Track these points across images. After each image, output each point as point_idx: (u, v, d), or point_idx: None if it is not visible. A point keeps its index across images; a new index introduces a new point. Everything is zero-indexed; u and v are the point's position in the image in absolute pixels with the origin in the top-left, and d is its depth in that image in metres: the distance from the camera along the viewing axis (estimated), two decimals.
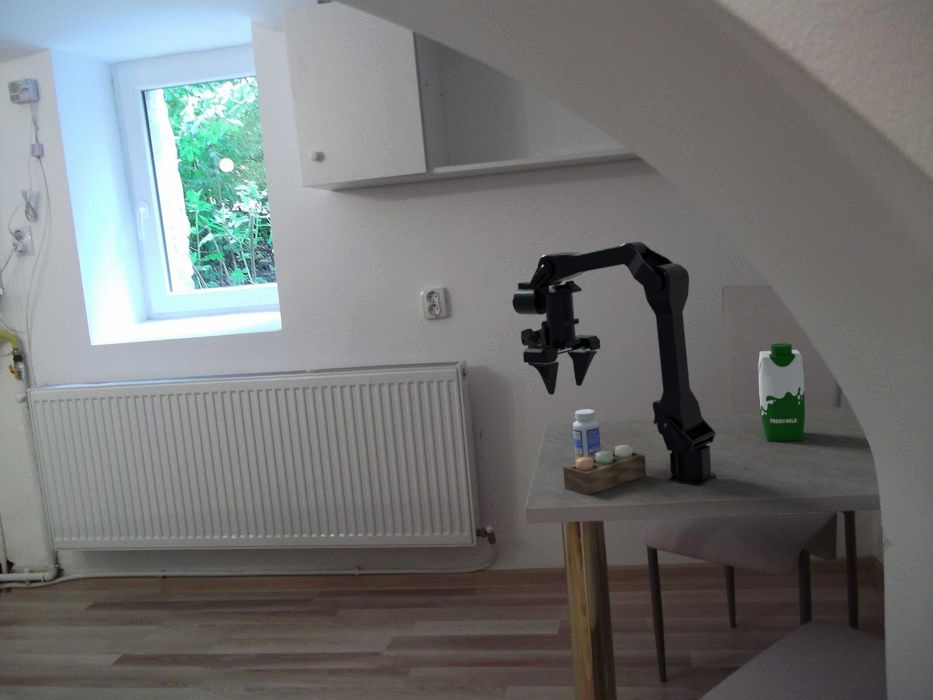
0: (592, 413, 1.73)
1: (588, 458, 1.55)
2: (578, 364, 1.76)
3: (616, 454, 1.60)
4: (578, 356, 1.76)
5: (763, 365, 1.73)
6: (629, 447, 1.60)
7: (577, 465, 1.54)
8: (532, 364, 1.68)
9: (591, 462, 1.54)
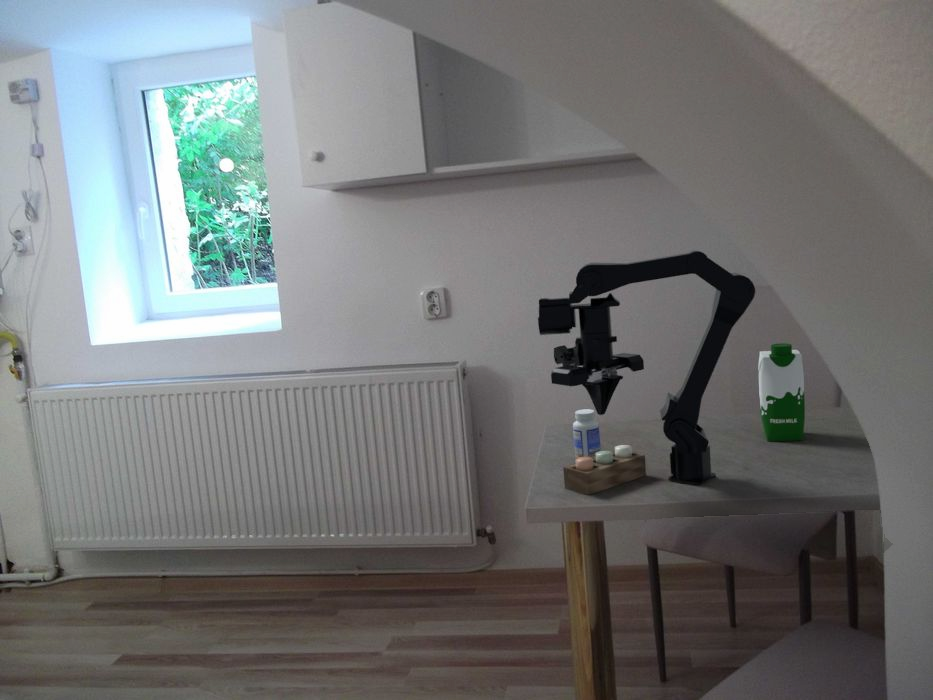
0: (592, 413, 1.73)
1: (588, 458, 1.55)
2: None
3: (616, 454, 1.60)
4: None
5: (763, 365, 1.73)
6: (629, 447, 1.60)
7: (577, 465, 1.54)
8: None
9: (591, 462, 1.54)
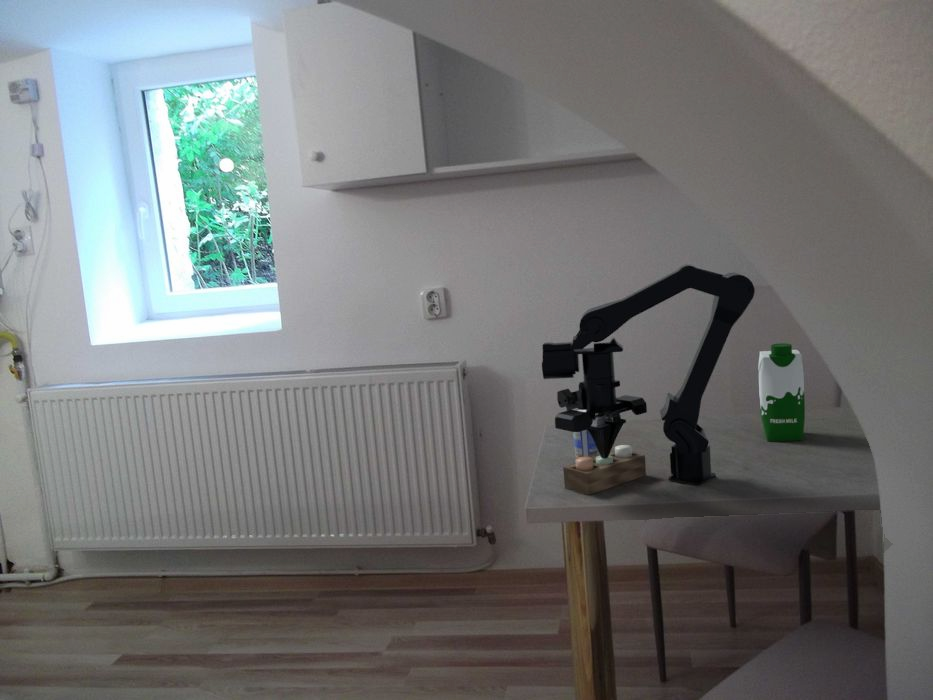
0: None
1: (588, 458, 1.55)
2: None
3: (616, 454, 1.60)
4: None
5: (763, 365, 1.73)
6: (629, 447, 1.60)
7: (577, 465, 1.54)
8: None
9: (591, 462, 1.54)
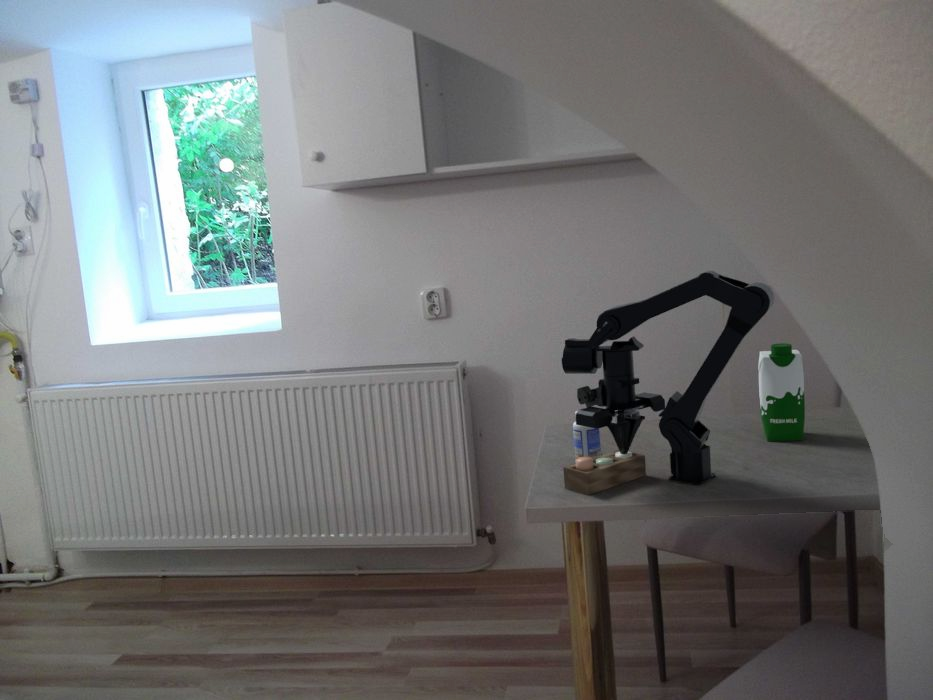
0: None
1: (588, 458, 1.55)
2: None
3: None
4: None
5: (763, 365, 1.73)
6: (629, 453, 1.60)
7: (577, 465, 1.54)
8: None
9: (591, 462, 1.54)
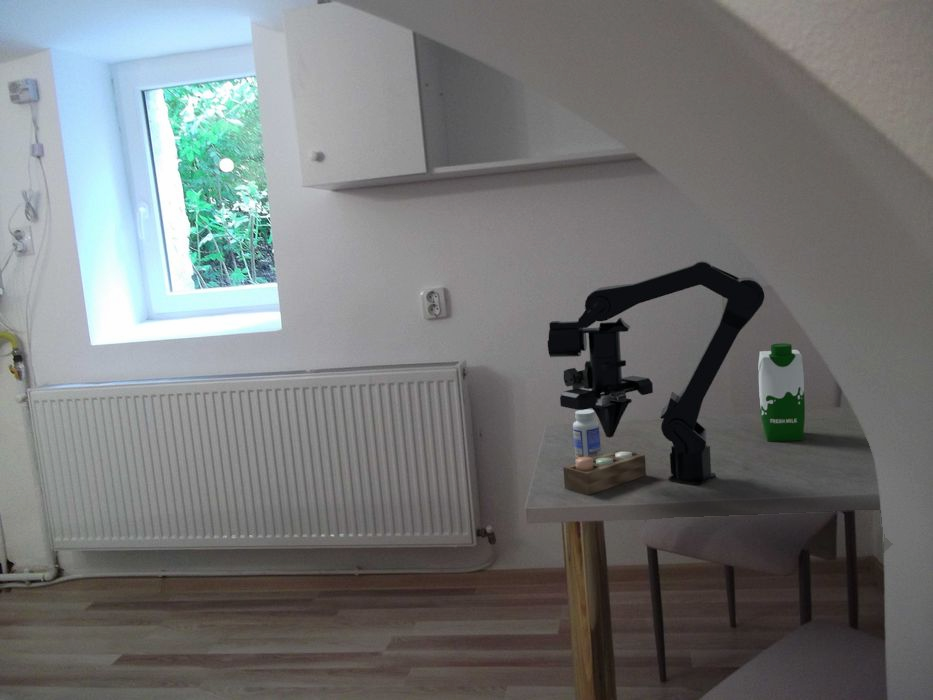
0: (592, 413, 1.73)
1: (588, 458, 1.55)
2: None
3: None
4: None
5: (763, 365, 1.73)
6: (629, 454, 1.60)
7: (577, 465, 1.54)
8: None
9: (591, 462, 1.54)
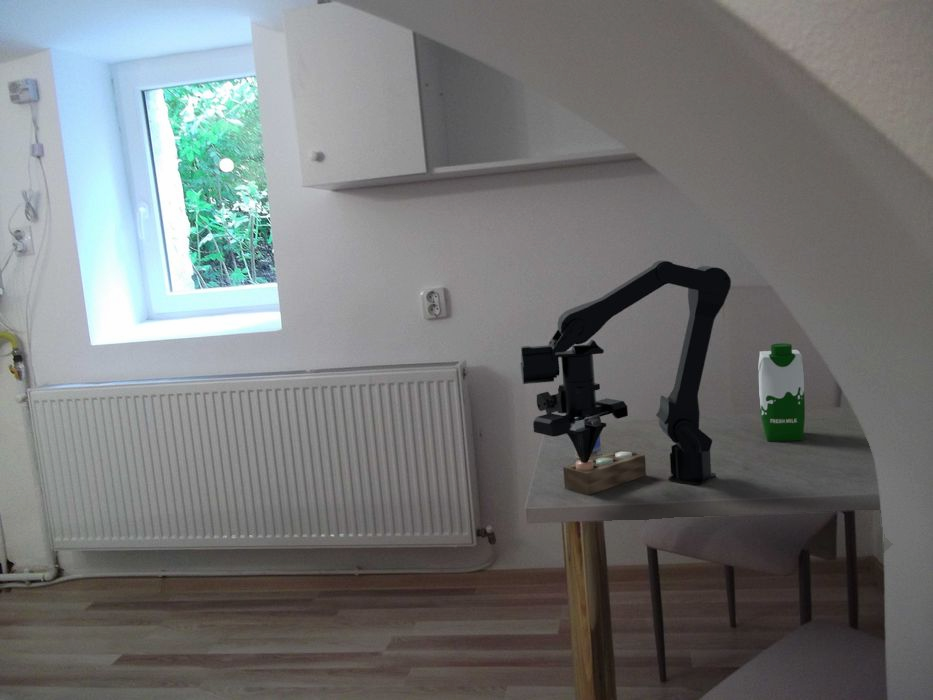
0: None
1: None
2: None
3: None
4: None
5: (763, 365, 1.73)
6: (629, 454, 1.60)
7: (577, 468, 1.54)
8: None
9: (591, 465, 1.54)
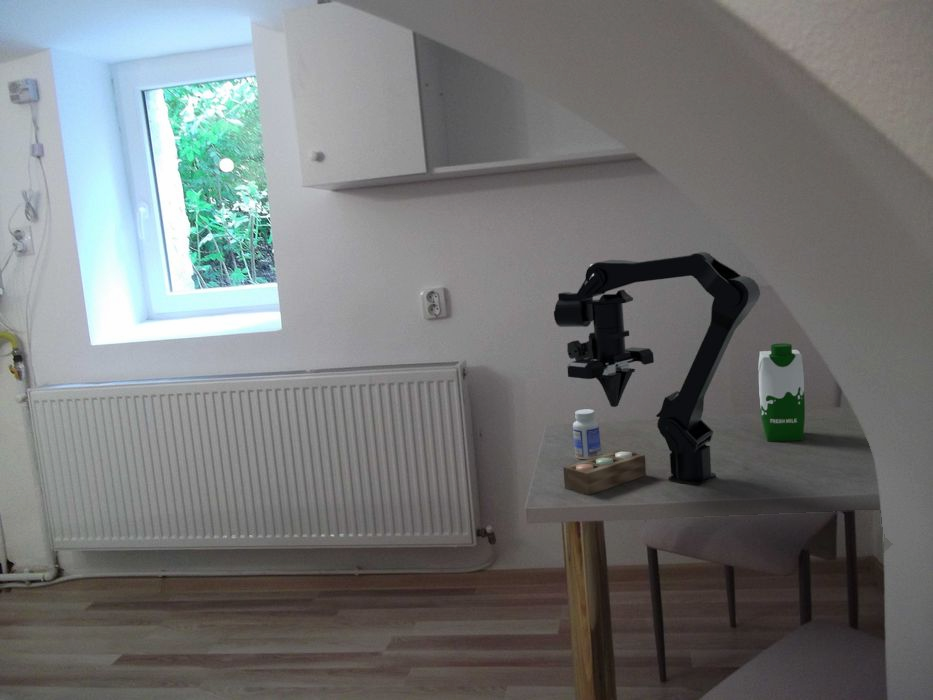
0: (592, 413, 1.73)
1: (588, 465, 1.56)
2: None
3: None
4: None
5: (763, 365, 1.73)
6: (629, 454, 1.60)
7: None
8: None
9: None
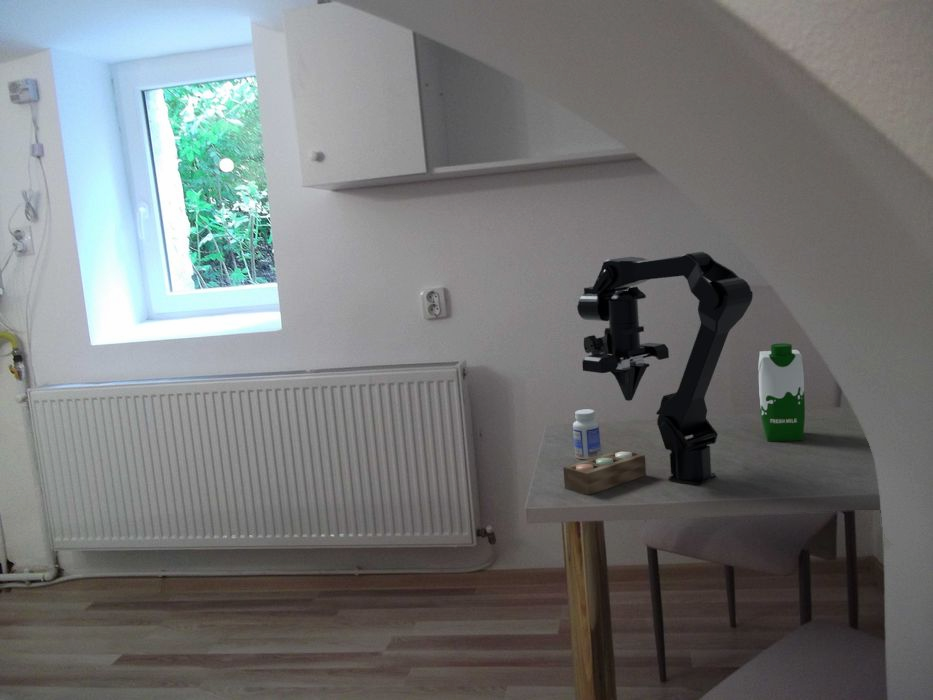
0: (592, 413, 1.73)
1: (588, 465, 1.56)
2: None
3: None
4: None
5: (763, 365, 1.73)
6: (629, 454, 1.60)
7: None
8: None
9: None
